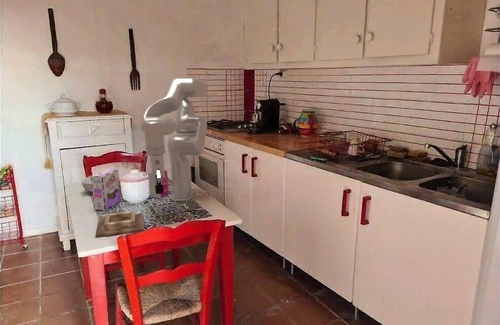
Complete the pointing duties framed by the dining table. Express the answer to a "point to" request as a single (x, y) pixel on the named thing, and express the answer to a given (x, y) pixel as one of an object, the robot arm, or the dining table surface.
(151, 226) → the dining table surface
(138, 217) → the walnut stand
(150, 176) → the supplement box
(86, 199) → the dining table surface
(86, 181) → the cereal bowl
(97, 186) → the candy box
